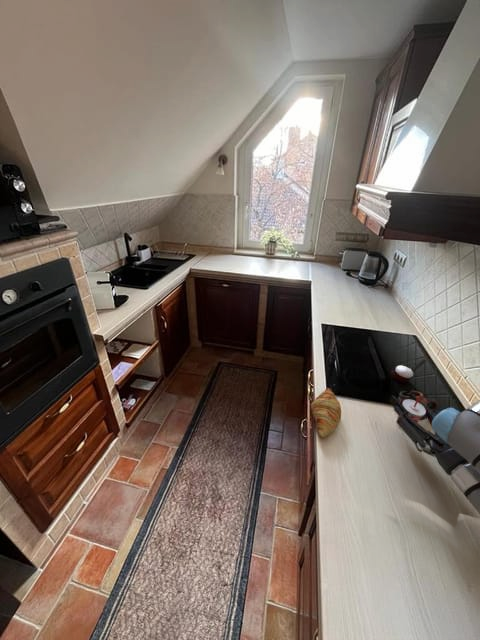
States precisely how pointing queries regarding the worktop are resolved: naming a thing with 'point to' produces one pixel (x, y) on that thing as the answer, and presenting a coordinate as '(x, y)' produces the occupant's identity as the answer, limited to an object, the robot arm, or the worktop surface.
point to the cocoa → (405, 372)
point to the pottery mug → (426, 401)
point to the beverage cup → (413, 410)
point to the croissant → (326, 412)
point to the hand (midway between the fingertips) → (401, 397)
